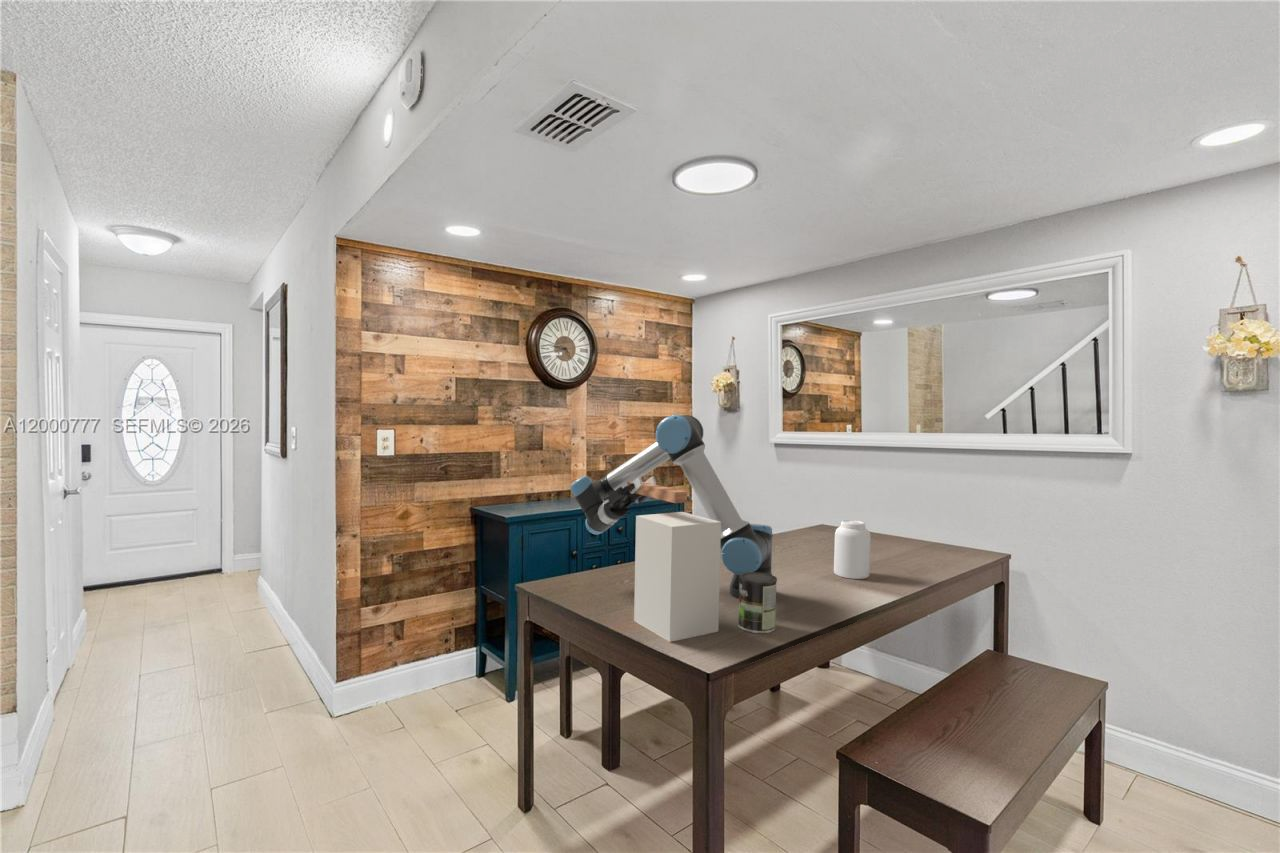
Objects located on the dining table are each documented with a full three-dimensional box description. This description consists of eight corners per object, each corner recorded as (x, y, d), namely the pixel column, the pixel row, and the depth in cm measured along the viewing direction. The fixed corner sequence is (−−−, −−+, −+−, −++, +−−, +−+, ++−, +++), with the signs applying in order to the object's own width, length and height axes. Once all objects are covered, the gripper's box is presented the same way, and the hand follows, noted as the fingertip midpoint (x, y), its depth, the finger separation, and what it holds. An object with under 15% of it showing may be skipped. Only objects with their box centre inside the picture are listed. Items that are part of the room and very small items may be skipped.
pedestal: (634, 620, 176) (636, 515, 175) (680, 612, 184) (682, 511, 183) (669, 642, 160) (672, 526, 159) (718, 631, 169) (720, 521, 168)
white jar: (874, 580, 223) (876, 525, 223) (839, 579, 223) (841, 524, 223) (862, 571, 236) (864, 518, 235) (829, 570, 236) (831, 518, 235)
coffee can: (743, 634, 167) (744, 582, 167) (734, 620, 178) (735, 572, 177) (780, 633, 168) (782, 582, 168) (769, 620, 178) (770, 571, 178)
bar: (626, 491, 191) (627, 481, 191) (638, 490, 193) (638, 480, 193) (675, 503, 168) (675, 492, 168) (687, 502, 171) (687, 491, 171)
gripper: (638, 518, 205) (674, 490, 187) (592, 522, 196) (625, 493, 178) (633, 497, 208) (668, 468, 190) (587, 500, 199) (619, 469, 181)
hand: (647, 480), depth 184 cm, fingers closed on bar, 4 cm apart
